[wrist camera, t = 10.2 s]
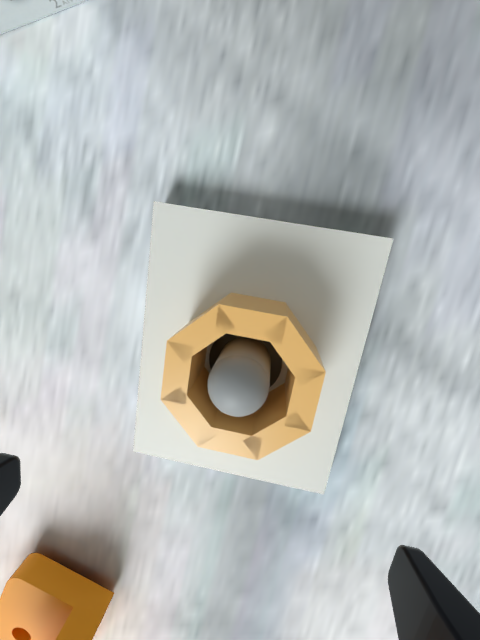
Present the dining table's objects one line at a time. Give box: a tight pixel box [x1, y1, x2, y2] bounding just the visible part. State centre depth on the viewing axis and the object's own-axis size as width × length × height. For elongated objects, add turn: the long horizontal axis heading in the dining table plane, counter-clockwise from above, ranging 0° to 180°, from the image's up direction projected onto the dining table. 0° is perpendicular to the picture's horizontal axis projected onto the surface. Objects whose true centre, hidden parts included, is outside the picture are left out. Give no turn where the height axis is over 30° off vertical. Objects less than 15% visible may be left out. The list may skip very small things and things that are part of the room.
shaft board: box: [133, 201, 393, 494], centre depth 15 cm, size 12×15×6 cm
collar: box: [160, 293, 326, 460], centre depth 15 cm, size 7×7×4 cm
